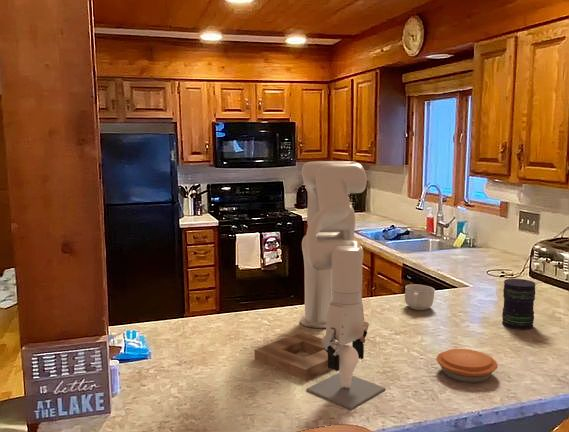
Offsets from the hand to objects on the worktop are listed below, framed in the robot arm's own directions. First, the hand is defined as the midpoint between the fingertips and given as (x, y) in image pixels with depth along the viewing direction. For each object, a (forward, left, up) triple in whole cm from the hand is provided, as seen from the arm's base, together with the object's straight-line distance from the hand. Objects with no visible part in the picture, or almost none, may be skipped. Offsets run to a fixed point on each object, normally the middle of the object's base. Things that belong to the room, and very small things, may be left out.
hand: (346, 363), depth 131 cm
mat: (0, 0, -7) cm, 7 cm away
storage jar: (-78, +12, -7) cm, 79 cm away
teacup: (-71, -22, -7) cm, 75 cm away
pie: (-30, +17, -7) cm, 35 cm away
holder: (-7, -21, -7) cm, 23 cm away
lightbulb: (0, 0, -7) cm, 7 cm away
